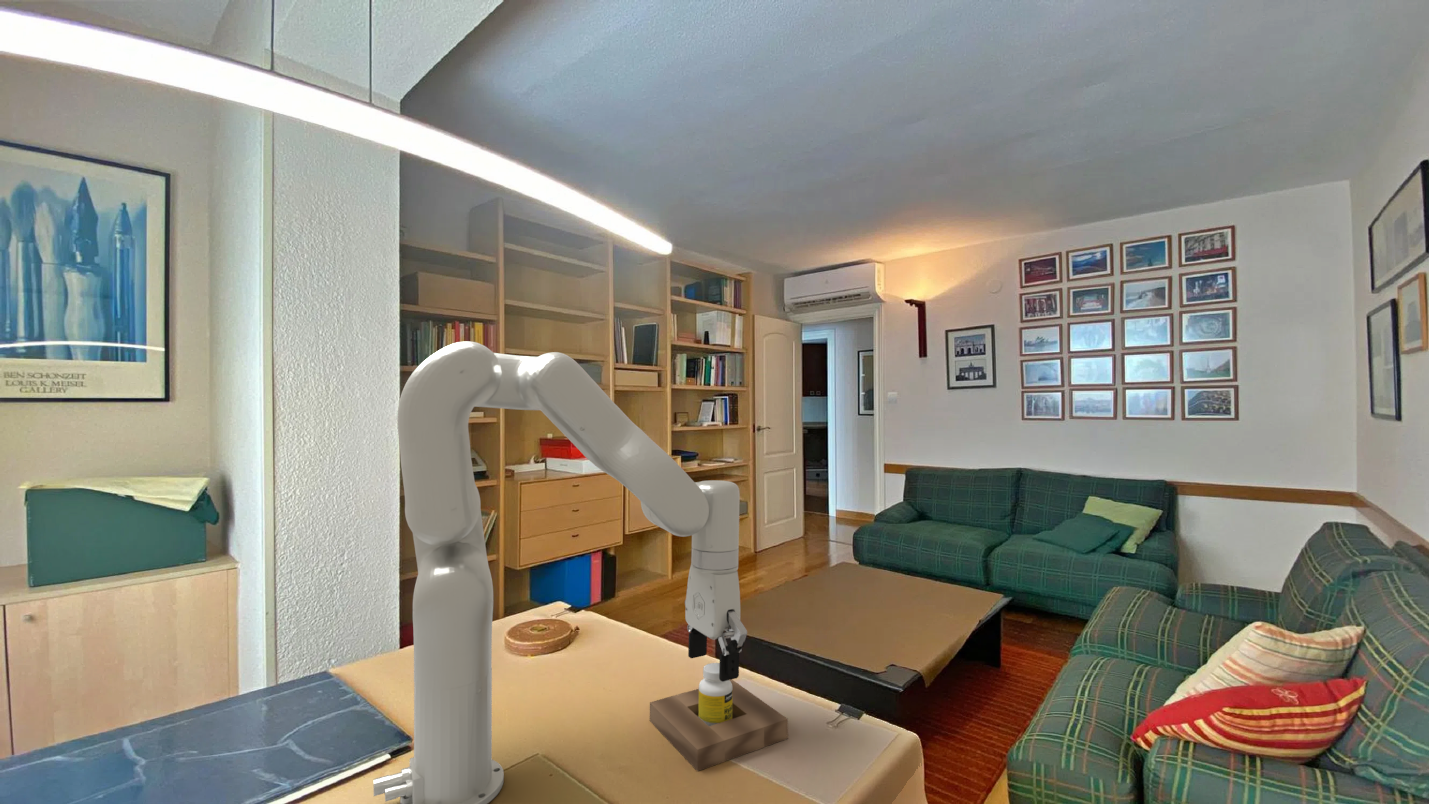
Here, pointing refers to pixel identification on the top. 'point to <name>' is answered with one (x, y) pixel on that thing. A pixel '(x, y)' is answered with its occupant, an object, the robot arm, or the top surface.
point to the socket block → (717, 727)
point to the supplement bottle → (714, 696)
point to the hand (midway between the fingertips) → (712, 667)
